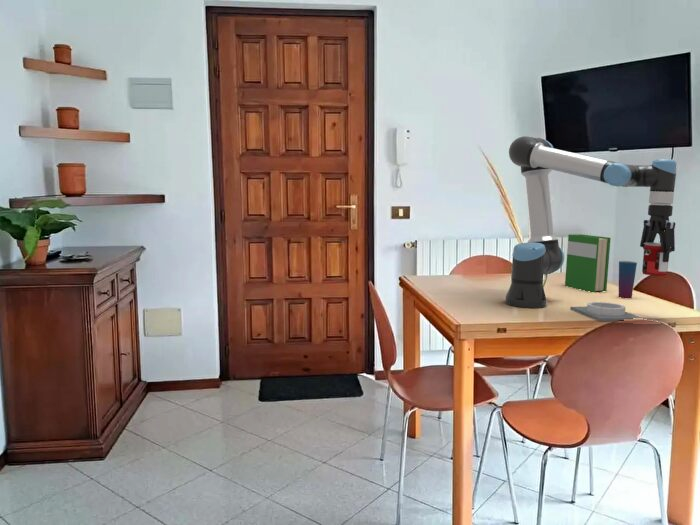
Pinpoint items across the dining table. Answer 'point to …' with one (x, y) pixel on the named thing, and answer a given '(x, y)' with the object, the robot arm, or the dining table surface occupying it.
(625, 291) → the cup
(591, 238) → the hardback book
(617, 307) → the holder
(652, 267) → the canned food
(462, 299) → the dining table surface
